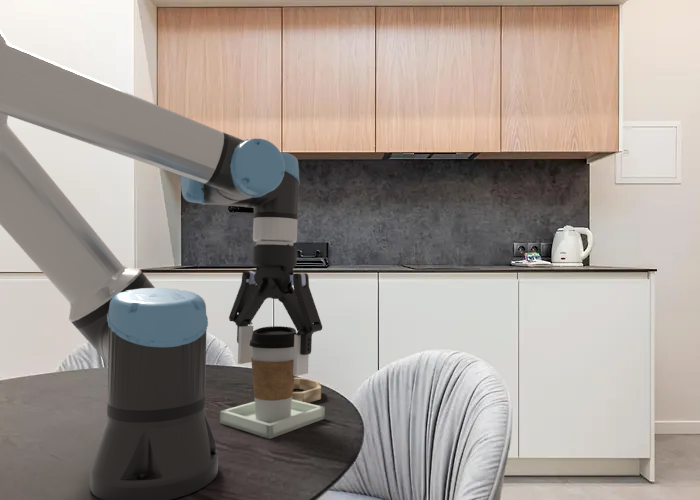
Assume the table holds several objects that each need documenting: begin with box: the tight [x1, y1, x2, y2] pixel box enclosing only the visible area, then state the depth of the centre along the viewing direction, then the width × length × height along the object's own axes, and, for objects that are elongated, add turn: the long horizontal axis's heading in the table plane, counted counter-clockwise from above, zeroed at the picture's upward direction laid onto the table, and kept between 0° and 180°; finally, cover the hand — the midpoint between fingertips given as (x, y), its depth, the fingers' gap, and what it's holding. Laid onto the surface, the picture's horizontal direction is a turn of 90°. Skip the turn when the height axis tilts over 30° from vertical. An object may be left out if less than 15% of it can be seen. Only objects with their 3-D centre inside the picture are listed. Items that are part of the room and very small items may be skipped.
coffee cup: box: [249, 325, 297, 422], centre depth 88 cm, size 8×8×15 cm
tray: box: [219, 399, 326, 440], centre depth 88 cm, size 13×12×2 cm
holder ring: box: [292, 377, 322, 404], centre depth 104 cm, size 13×13×2 cm
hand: (271, 368), depth 88 cm, fingers open, 13 cm apart
